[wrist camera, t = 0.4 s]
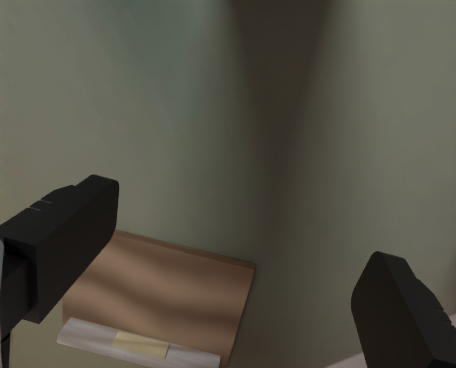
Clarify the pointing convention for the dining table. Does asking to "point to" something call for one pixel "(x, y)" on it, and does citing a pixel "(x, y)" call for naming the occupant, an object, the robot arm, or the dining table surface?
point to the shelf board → (157, 304)
